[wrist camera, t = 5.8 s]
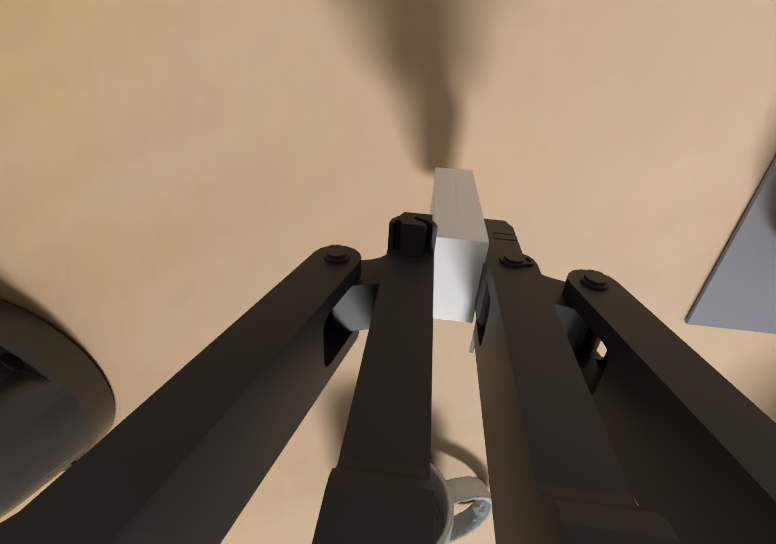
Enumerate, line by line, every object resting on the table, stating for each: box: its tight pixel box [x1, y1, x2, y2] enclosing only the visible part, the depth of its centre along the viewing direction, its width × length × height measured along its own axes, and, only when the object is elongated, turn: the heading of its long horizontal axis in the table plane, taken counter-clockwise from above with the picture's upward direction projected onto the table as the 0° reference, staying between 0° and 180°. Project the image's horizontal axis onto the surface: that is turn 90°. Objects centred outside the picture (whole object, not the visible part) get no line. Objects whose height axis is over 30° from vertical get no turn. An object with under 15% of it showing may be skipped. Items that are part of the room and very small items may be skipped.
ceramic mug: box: [430, 462, 492, 544], centre depth 28 cm, size 11×8×8 cm
